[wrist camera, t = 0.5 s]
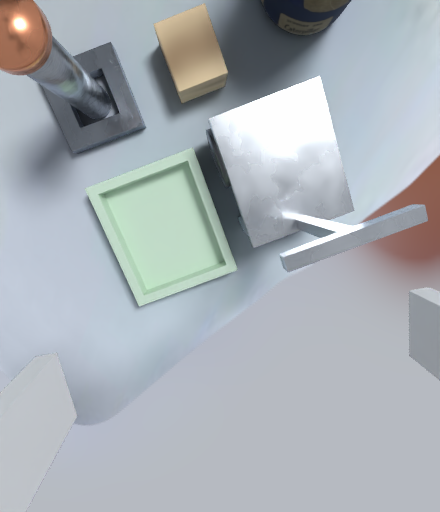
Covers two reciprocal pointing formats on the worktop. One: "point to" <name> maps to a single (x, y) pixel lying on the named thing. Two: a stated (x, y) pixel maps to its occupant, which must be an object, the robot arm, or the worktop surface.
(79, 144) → the collar
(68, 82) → the pin
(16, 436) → the robot arm
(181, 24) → the block
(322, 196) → the trolley
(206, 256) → the tray
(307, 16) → the canister
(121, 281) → the worktop surface
